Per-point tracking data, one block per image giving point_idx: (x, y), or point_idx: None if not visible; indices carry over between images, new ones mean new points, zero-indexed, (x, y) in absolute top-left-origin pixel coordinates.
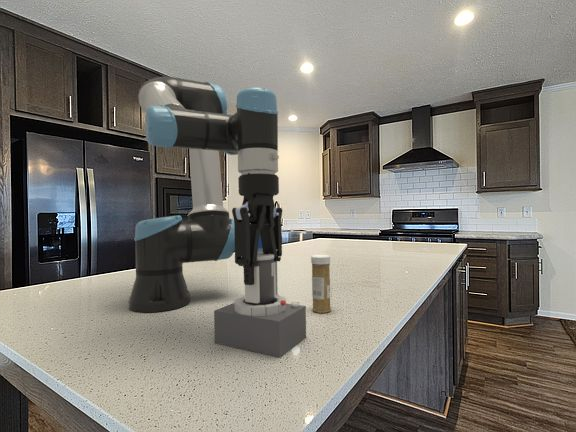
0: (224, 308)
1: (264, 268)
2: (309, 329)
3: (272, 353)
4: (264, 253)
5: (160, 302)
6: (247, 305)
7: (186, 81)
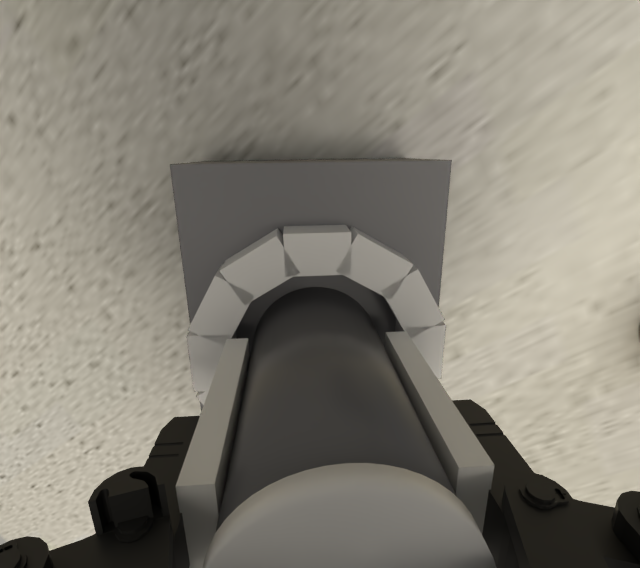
0: (227, 189)
1: None
2: (462, 373)
3: None
4: (520, 557)
5: None
6: (212, 359)
7: None
